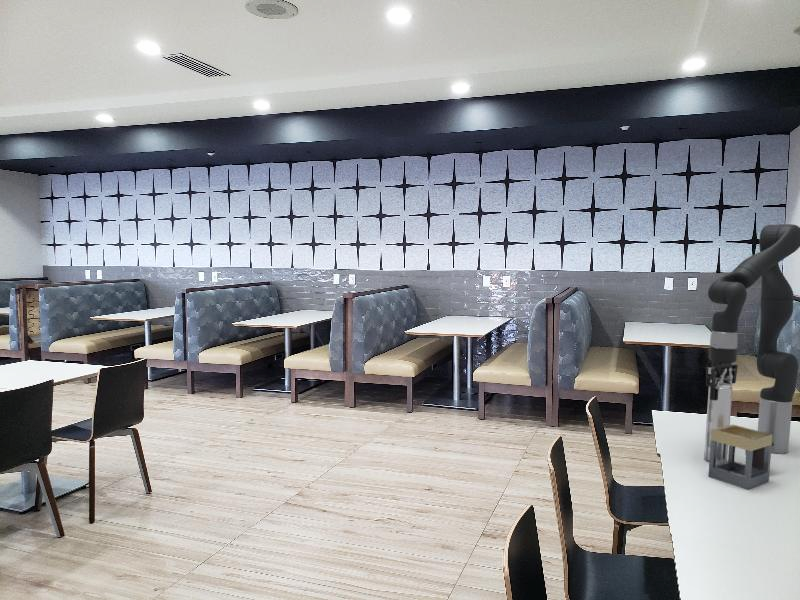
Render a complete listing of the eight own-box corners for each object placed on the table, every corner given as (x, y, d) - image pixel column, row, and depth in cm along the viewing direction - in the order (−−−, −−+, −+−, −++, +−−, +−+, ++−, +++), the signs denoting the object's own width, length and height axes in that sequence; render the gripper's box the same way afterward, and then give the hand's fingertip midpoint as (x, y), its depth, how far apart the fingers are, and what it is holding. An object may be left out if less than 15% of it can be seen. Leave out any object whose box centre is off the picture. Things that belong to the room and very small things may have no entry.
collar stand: (729, 469, 186) (732, 424, 185) (768, 481, 177) (772, 434, 175) (708, 476, 180) (711, 429, 179) (747, 489, 170) (751, 440, 169)
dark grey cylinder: (775, 470, 186) (777, 438, 185) (768, 477, 180) (771, 444, 179) (745, 463, 192) (747, 432, 191) (738, 470, 186) (740, 437, 185)
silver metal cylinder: (729, 465, 189) (735, 386, 187) (707, 463, 191) (712, 384, 189) (723, 458, 196) (728, 381, 194) (701, 457, 197) (706, 380, 195)
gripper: (724, 342, 197) (720, 393, 199) (698, 345, 189) (695, 398, 191) (748, 346, 191) (744, 398, 192) (722, 349, 183) (718, 404, 184)
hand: (719, 398), depth 191 cm, fingers closed on silver metal cylinder, 6 cm apart
